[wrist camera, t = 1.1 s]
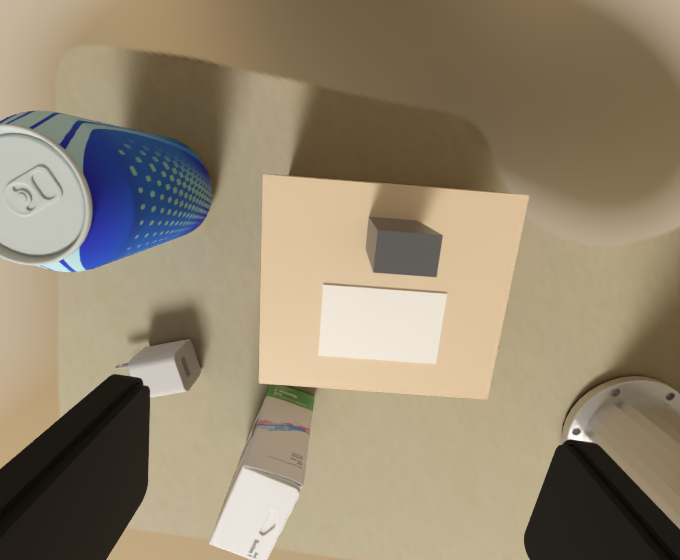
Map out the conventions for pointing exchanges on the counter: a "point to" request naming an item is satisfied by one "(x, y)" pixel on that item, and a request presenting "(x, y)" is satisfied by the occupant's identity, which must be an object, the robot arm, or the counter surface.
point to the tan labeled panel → (384, 285)
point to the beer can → (92, 191)
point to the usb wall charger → (166, 367)
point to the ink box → (267, 475)
